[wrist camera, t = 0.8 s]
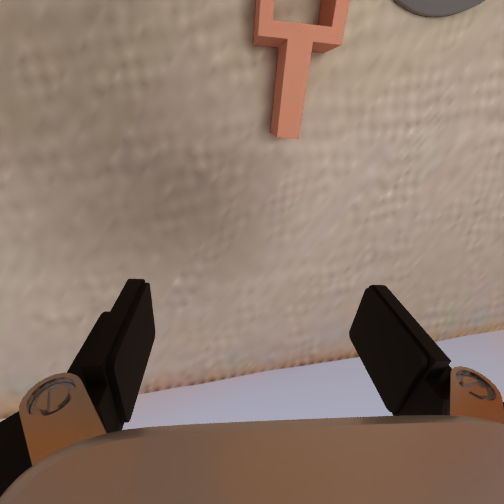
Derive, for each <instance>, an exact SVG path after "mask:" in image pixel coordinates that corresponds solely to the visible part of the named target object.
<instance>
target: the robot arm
mask: <svg viewBox="0 0 504 504" xmlns="http://www.w3.org/2000/svg"><path fill="white" fill-rule="evenodd" d="M349 336H350V339H351V341H352V343H353V345H354V347H355V349H356V351H357V353H358V355H359V356H360V358H361V360H362V362H363V364H364V366H365V368H366V370H367V372H368V374H369V375H370V377H371V379H372V381H373V383H374V385H375V387H376V389H377V391H378V393H379V395H380V396H381V398H382V400H383V402H384V404H385V406H386V408H387V409H388V410H389V411H390V412H392V414H393V415H394V416H382V417H380V416H379V417H353V418H352V417H350V418H324V419H299V420H276V421H255V422H253V421H252V422H230V423H209V424H190V425H174V426H158V427H146V428H137V429H128V430H122V428H123V425H124V422H129V420H130V419H131V415H132V412H133V409H134V405H135V402H136V399H137V395H138V392H139V389H140V386H141V382H142V379H143V376H144V372H145V369H146V366H147V362H148V359H149V356H150V352H151V349H152V346H153V342H154V339H155V325H154V316H153V308H152V299H151V291H150V284H149V283H145V280H144V279H128V280H127V282H126V284H125V286H124V288H123V289H122V291H121V293H120V295H119V297H118V299H117V300H116V302H115V304H114V306H113V308H112V310H111V311H110V312H103V313H102V314H101V315H100V317H99V318H98V320H97V322H96V324H95V325H94V327H93V329H92V330H91V332H90V334H89V336H88V337H87V339H86V341H85V342H84V344H83V346H82V348H81V349H80V351H79V353H78V354H77V356H76V358H75V359H74V361H73V363H72V365H71V366H70V368H69V370H68V371H67V373H60V374H55V375H52V376H50V377H47V378H45V379H43V380H42V381H40V382H38V383H37V384H36V385H34V386H33V387H32V388H31V389H30V390H29V391H28V392H27V393H26V395H25V396H24V397H23V399H22V401H21V403H20V406H19V411H18V412H17V413H15V414H13V415H12V416H10V417H8V418H7V419H5V420H3V421H2V422H0V504H504V402H503V401H502V397H501V394H500V392H499V390H498V389H497V387H496V386H495V385H494V384H493V383H492V382H491V381H490V380H489V379H487V378H486V377H485V376H483V375H482V374H480V373H478V372H476V371H475V370H472V369H470V368H466V367H454V368H453V369H452V368H451V367H450V366H449V363H450V362H451V360H450V359H449V358H448V357H447V356H446V355H445V354H444V352H443V351H442V350H441V349H440V348H439V347H438V346H437V344H436V343H435V342H434V341H433V340H432V338H431V337H430V336H429V335H428V334H427V333H426V332H425V330H424V329H423V328H422V327H421V326H420V325H419V324H418V322H417V321H416V320H415V319H414V318H413V317H412V315H411V314H410V313H409V312H408V311H407V310H406V309H405V307H404V306H403V305H402V304H401V303H400V302H399V301H398V299H397V298H396V297H395V296H394V295H393V294H392V292H391V291H390V290H389V289H388V288H387V287H386V286H384V285H371V286H369V288H367V289H366V290H365V292H364V295H363V297H362V300H361V302H360V305H359V308H358V310H357V313H356V316H355V318H354V321H353V323H352V326H351V329H350V332H349Z"/></svg>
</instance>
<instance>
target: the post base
mask: <svg viewBox="0 0 504 504" xmlns="http://www.w3.org/2000/svg"><path fill="white" fill-rule="evenodd" d="M394 1H395V2H396V3H397V4H398V5H400V6H401V7H402V8H404V9H405V10H407V11H409V12H412V13H414V14H416V15H421V16H425V17H442V16H449V15H452V14H455V13H459V12H462V11H464V10H467V9H469V8H471V7H474V6H476V5H478V4H480V3H482V2H483V1H485V0H394Z"/></svg>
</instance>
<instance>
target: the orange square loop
mask: <svg viewBox="0 0 504 504" xmlns="http://www.w3.org/2000/svg"><path fill="white" fill-rule="evenodd" d="M349 2H350V0H322V4H321V10H320V17H319V23H318V25H311V24H303V23H295V22H286V21H278V20H273V10H274V0H256V9H255V26H254V42H253V45H258V46H268V47H277V48H279V50H278V60H277V71H276V81H275V91H274V101H273V111H272V122H271V132H270V133H272V134H273V135H274V136H276V137H279V138H293V139H299V133H300V126H301V120H302V113H303V106H304V99H305V93H306V86H307V79H308V72H309V66H310V59H311V52H312V51H314V52H324V53H325V52H327V51H329V50H331V49H333V48H336V47H338V46H340V45H341V44H342V39H343V33H344V28H345V23H346V18H347V13H348V7H349Z"/></svg>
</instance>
